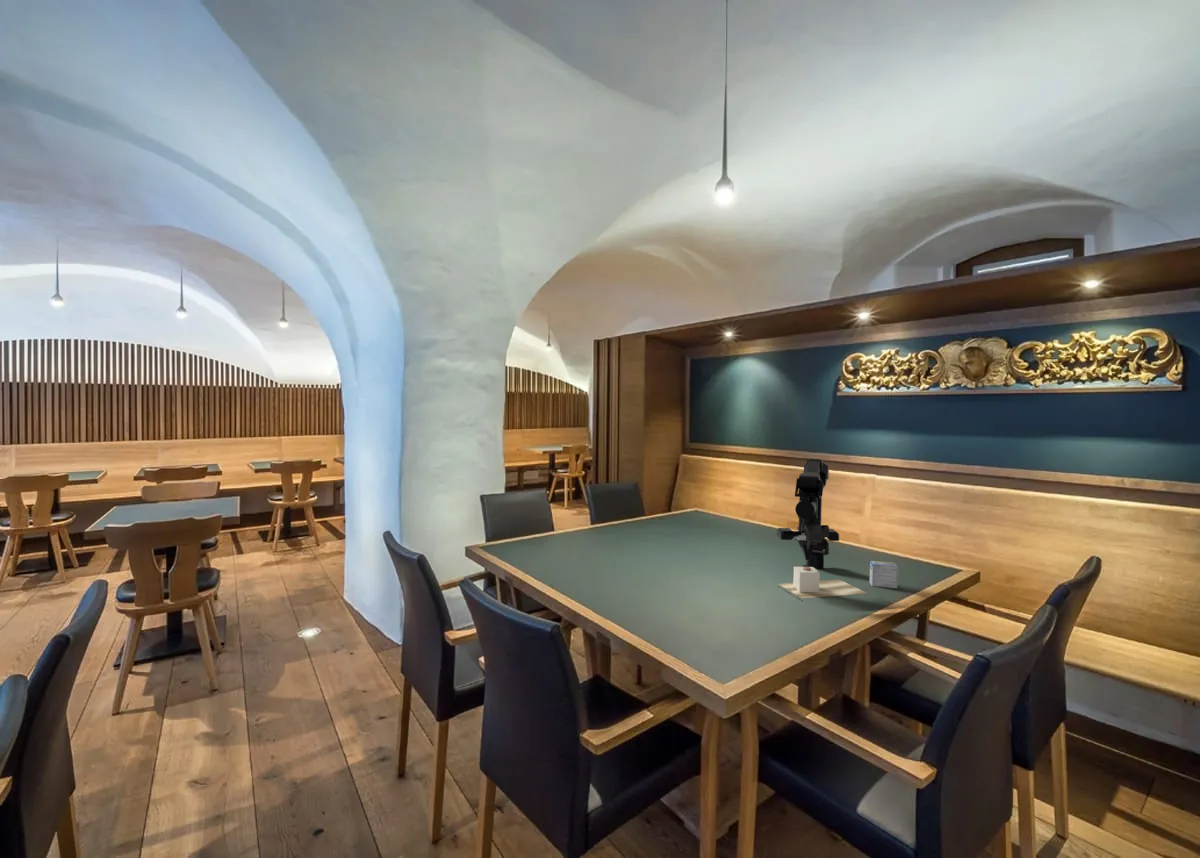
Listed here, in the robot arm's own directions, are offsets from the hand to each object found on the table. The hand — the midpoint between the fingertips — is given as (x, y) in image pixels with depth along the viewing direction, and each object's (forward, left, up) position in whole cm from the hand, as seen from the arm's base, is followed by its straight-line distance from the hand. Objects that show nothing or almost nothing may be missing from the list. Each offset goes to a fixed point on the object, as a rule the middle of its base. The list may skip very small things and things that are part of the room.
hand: (806, 559), depth 180 cm
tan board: (0, +6, -11) cm, 13 cm away
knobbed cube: (0, 0, -10) cm, 10 cm away
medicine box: (+1, +29, -11) cm, 31 cm away
